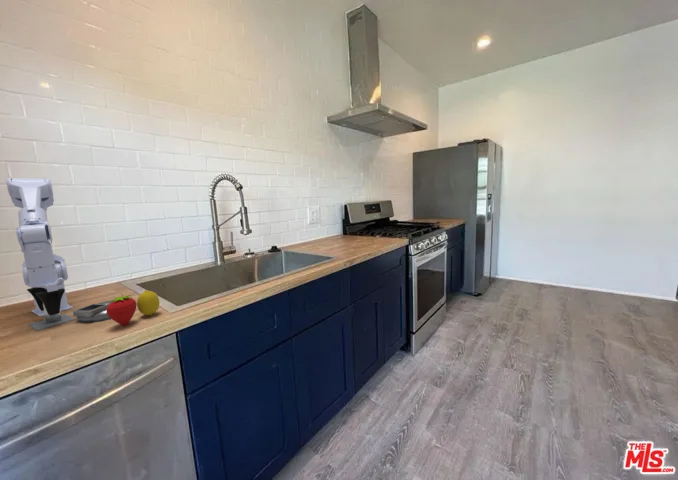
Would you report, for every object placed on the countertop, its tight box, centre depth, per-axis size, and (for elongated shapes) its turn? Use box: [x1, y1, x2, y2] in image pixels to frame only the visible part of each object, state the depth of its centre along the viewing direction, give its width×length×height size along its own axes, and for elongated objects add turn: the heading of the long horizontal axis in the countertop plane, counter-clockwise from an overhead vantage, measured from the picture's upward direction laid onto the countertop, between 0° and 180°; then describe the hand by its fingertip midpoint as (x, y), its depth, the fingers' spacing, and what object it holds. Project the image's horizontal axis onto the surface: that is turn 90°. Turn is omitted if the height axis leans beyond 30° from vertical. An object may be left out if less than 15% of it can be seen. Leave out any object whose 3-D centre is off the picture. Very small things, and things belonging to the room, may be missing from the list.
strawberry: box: [106, 290, 137, 327], centre depth 79 cm, size 6×8×10 cm
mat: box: [28, 314, 75, 332], centre depth 84 cm, size 8×8×1 cm
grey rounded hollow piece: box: [72, 299, 114, 324], centre depth 89 cm, size 14×14×4 cm
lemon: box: [136, 289, 160, 317], centre depth 85 cm, size 6×6×8 cm
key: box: [43, 304, 62, 323], centre depth 84 cm, size 3×3×7 cm
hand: (50, 311), depth 83 cm, fingers open, 7 cm apart
